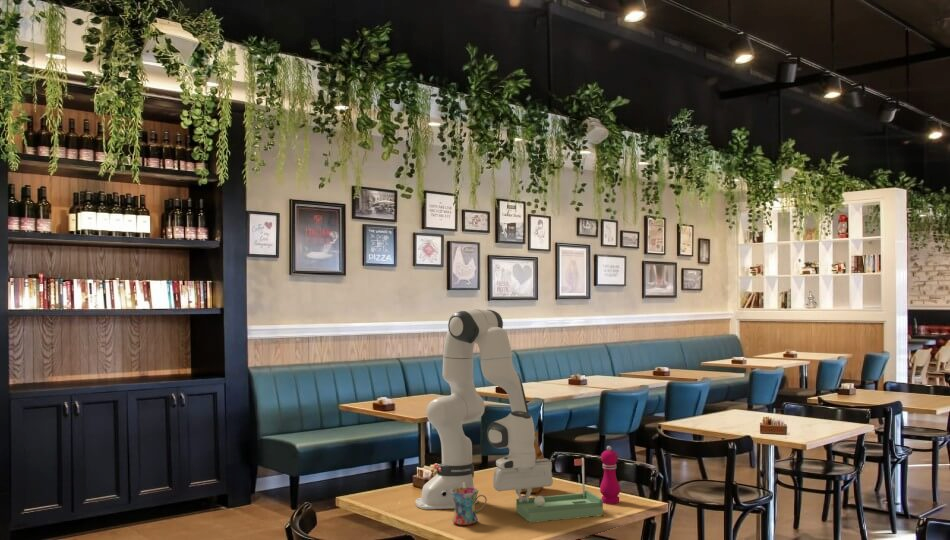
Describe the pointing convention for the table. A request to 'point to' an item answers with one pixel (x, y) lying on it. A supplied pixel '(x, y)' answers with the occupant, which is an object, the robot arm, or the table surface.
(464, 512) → the mug
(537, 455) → the coffee package
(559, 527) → the table surface
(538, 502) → the ball
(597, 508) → the green
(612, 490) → the pepper mill
